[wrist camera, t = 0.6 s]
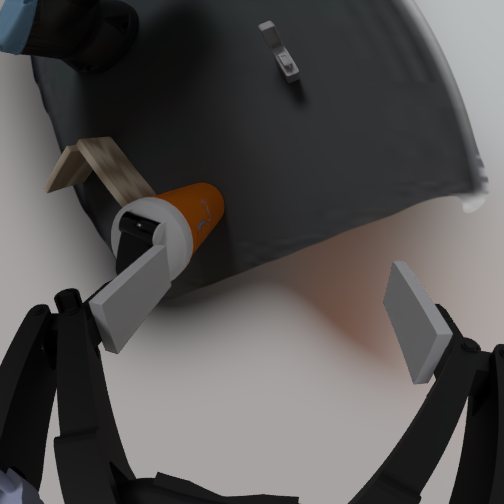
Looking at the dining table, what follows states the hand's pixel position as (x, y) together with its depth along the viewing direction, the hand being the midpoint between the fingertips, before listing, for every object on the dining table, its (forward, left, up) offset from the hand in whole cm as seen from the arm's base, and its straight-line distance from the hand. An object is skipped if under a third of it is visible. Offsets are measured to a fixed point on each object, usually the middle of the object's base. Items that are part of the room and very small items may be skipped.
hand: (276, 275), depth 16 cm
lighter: (-16, +11, -26) cm, 33 cm away
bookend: (-20, -22, -26) cm, 39 cm away
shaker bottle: (-7, -12, -26) cm, 29 cm away
